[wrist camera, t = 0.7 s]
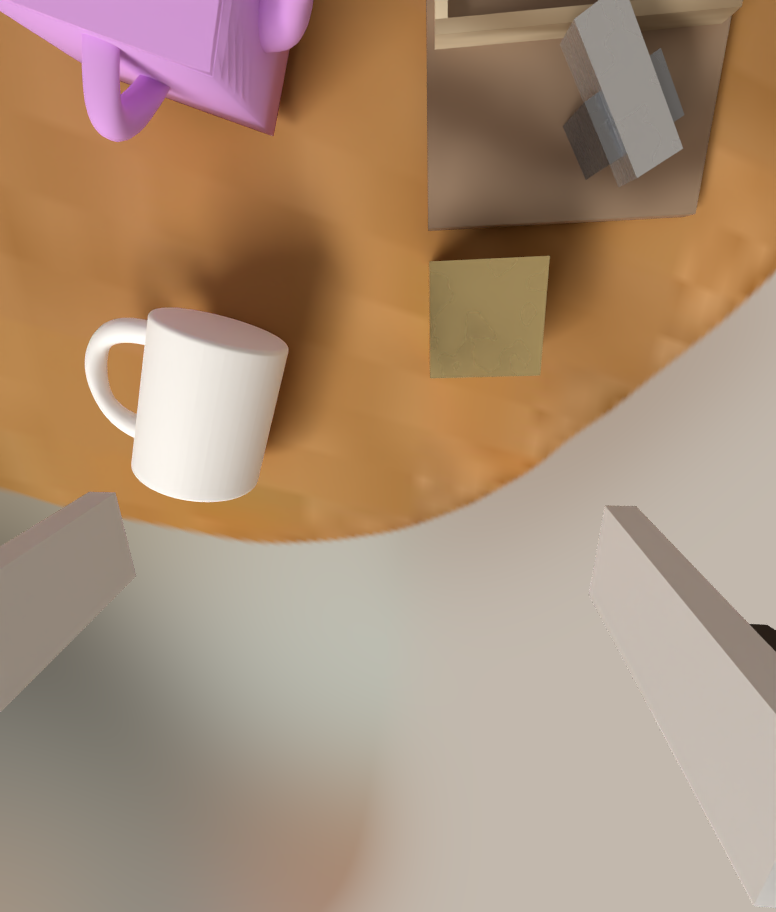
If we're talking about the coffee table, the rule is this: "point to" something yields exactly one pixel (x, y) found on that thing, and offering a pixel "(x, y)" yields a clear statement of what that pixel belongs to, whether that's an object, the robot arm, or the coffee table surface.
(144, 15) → the teapot
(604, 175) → the framed base plate
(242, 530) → the coffee table surface
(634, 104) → the shafts
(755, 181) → the coffee table surface
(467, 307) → the gold cube
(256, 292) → the coffee table surface
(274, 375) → the mug
